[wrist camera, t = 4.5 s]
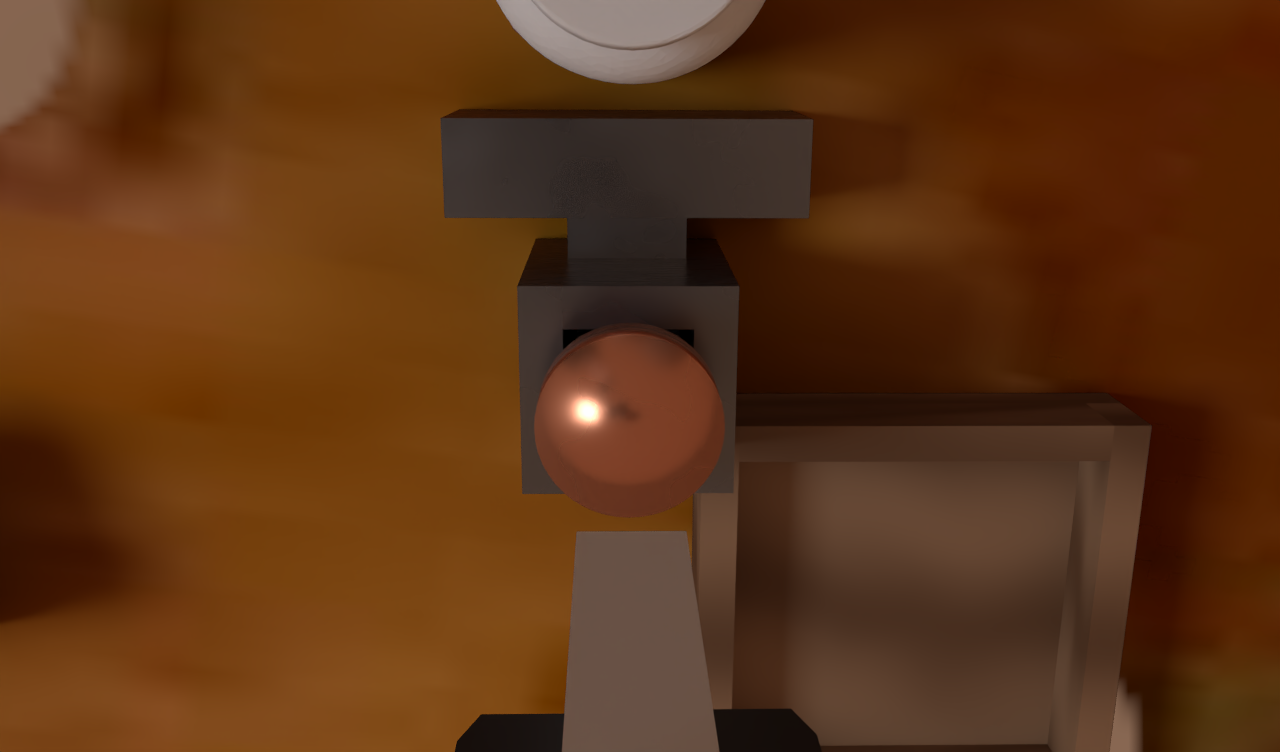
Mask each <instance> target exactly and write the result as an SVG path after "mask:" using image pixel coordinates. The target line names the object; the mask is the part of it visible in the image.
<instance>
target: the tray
mask: <svg viewBox="0 0 1280 752" xmlns="http://www.w3.org/2000/svg"><path fill="white" fill-rule="evenodd" d="M1151 428H1152V425H1150V424H1149V423H1148V422H1146V421H1145V420H1143V419H1142V418H1141V417H1139V416H1138V415H1136V414H1135V413H1134V412H1132V411H1131V410H1130V409H1128V408H1127V407H1125V406H1124V405H1123V404H1121V403H1120V402H1119V401H1117V400H1116V399H1114V398H1113V397H1112V396H1110V395H1109V394H1108V393H793V394H736V420H735V455H734V491H733V493H694V494H693V536H692V573H693V580H694V586H695V593H696V599H697V606H698V613H699V619H700V626H701V633H702V639H703V646H704V653H705V659H706V666H707V673H708V679H709V686H710V692H711V699H712V706H713V709H792V710H793V711H794V712H795V713H796V714H797V715H798V716H799V717H800V718H801V719H802V720H803V721H804V722H805V723H806V724H807V725H808V726H809V727H810V728H811V729H812V730H813V731H814V732H815V733H816V734H817V737H818V740H819V744H820V747H821V750H822V752H1109V751H1110V743H1111V736H1112V728H1113V720H1114V713H1115V705H1116V697H1117V689H1118V682H1119V674H1120V666H1121V659H1122V651H1123V643H1124V636H1125V628H1126V620H1127V613H1128V605H1129V597H1130V590H1131V582H1132V574H1133V567H1134V559H1135V551H1136V544H1137V536H1138V528H1139V521H1140V513H1141V505H1142V498H1143V490H1144V482H1145V475H1146V467H1147V459H1148V452H1149V444H1150V436H1151Z"/></svg>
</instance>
